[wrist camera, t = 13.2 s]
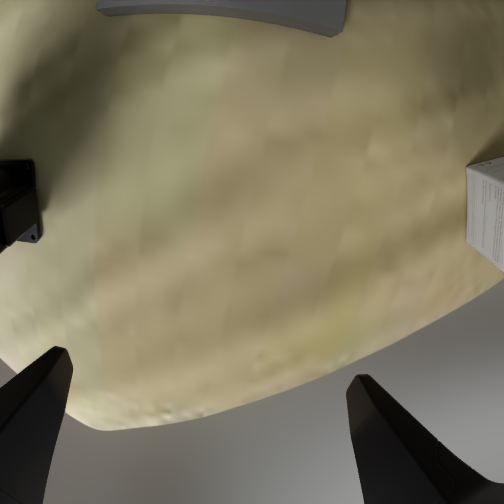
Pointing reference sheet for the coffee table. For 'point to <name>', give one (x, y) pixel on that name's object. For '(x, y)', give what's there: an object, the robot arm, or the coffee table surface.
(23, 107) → the coffee table surface
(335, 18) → the scale base
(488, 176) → the supplement box
